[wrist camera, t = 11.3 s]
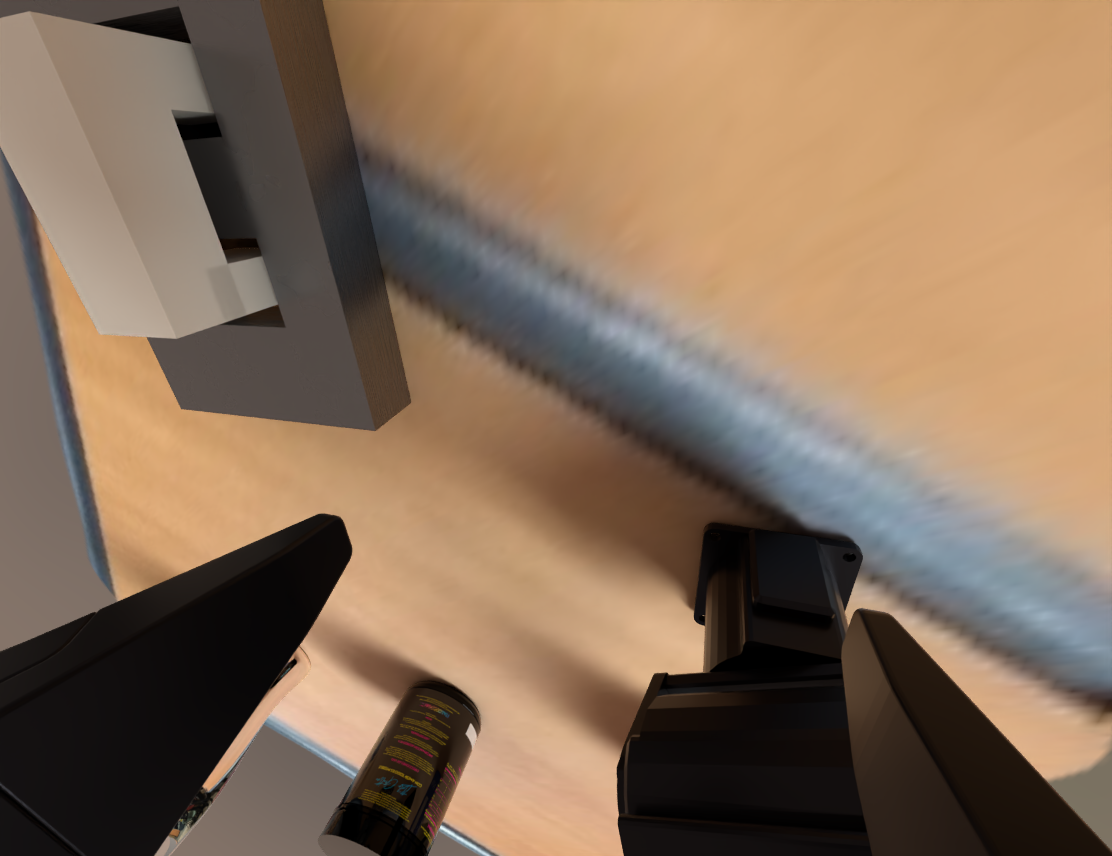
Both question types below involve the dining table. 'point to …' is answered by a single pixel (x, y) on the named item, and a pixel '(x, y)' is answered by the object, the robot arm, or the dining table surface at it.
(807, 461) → the dining table surface
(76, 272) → the block
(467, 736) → the supplement container
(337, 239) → the slotted plate
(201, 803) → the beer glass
